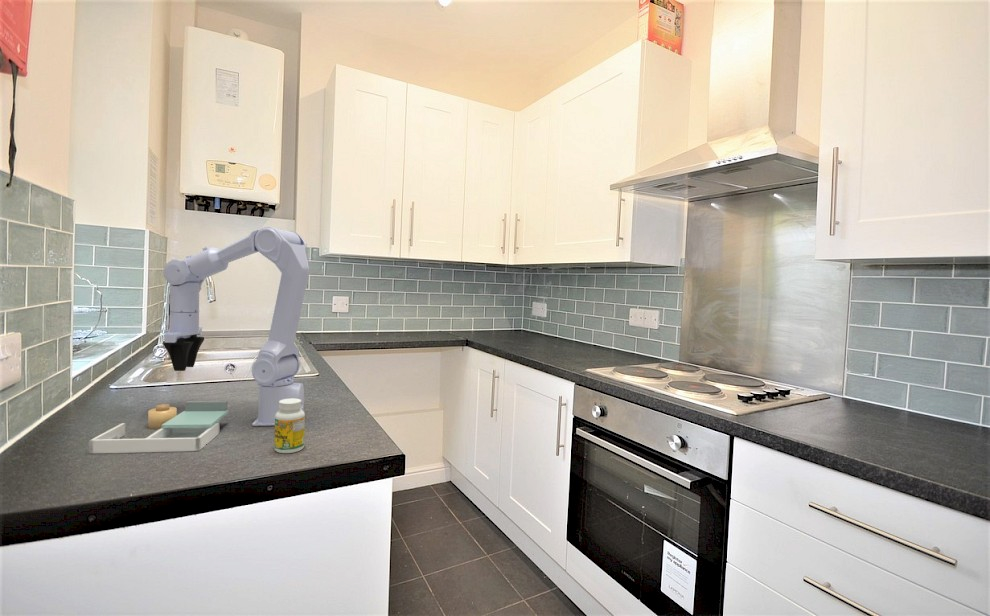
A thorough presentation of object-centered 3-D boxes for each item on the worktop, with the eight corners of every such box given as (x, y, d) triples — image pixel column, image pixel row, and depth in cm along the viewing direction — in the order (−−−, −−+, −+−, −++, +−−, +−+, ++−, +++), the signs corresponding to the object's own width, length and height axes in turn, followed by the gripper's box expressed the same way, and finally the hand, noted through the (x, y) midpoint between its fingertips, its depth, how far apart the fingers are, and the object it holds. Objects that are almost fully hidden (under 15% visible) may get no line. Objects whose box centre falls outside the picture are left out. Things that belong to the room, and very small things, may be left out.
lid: (229, 412, 103) (229, 400, 103) (210, 427, 93) (210, 414, 92) (185, 412, 101) (185, 401, 101) (161, 428, 91) (161, 415, 91)
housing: (219, 433, 97) (219, 422, 97) (199, 450, 87) (199, 438, 87) (121, 434, 93) (121, 423, 93) (89, 453, 83) (88, 440, 83)
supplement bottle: (310, 447, 91) (311, 400, 91) (286, 456, 87) (287, 406, 86) (292, 442, 94) (293, 395, 93) (268, 450, 89) (269, 401, 89)
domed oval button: (180, 421, 103) (180, 402, 103) (169, 429, 98) (170, 408, 98) (155, 422, 102) (155, 402, 102) (143, 429, 97) (143, 408, 97)
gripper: (180, 308, 115) (179, 362, 115) (149, 313, 100) (148, 375, 101) (211, 309, 116) (210, 363, 117) (185, 314, 102) (184, 375, 103)
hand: (184, 368), depth 109 cm, fingers open, 4 cm apart
